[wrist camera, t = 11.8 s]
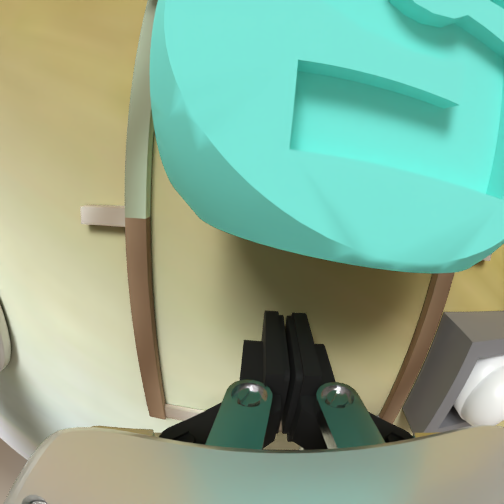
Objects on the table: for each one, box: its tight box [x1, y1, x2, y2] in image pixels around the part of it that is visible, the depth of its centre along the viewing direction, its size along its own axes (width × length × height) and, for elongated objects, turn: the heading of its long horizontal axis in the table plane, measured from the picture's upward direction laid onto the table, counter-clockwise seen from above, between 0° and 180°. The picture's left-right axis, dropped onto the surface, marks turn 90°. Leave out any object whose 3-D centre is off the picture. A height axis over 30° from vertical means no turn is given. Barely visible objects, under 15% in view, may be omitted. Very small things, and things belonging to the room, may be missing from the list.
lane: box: [81, 0, 491, 431], centre depth 11 cm, size 20×24×2 cm
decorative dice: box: [150, 0, 504, 273], centre depth 6 cm, size 8×8×8 cm
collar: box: [402, 311, 504, 434], centre depth 12 cm, size 7×7×3 cm
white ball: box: [453, 354, 504, 426], centre depth 11 cm, size 4×4×4 cm
